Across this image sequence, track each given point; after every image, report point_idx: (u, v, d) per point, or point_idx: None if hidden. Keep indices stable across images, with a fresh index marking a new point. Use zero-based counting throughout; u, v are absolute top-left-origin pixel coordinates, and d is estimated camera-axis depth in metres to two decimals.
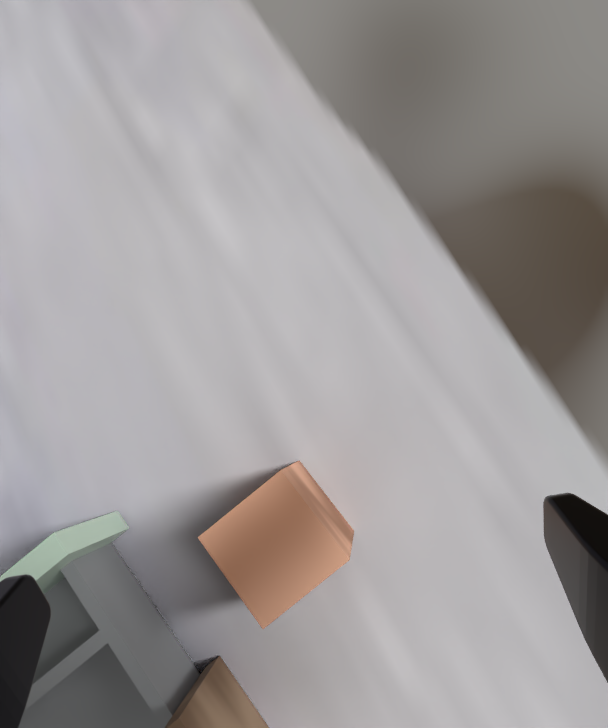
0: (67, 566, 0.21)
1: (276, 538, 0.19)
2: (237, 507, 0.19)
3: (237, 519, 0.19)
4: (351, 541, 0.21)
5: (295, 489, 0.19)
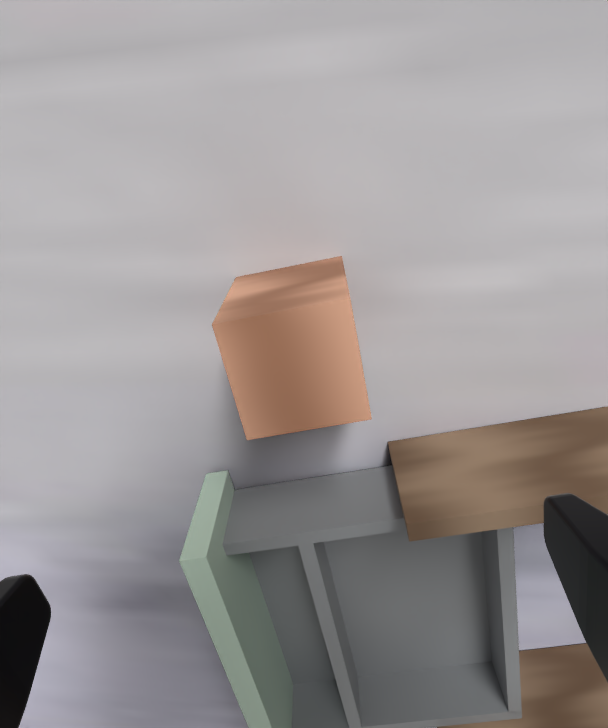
0: (226, 549, 0.20)
1: (286, 364, 0.15)
2: (233, 388, 0.16)
3: (246, 393, 0.16)
4: (343, 272, 0.17)
5: (242, 318, 0.15)
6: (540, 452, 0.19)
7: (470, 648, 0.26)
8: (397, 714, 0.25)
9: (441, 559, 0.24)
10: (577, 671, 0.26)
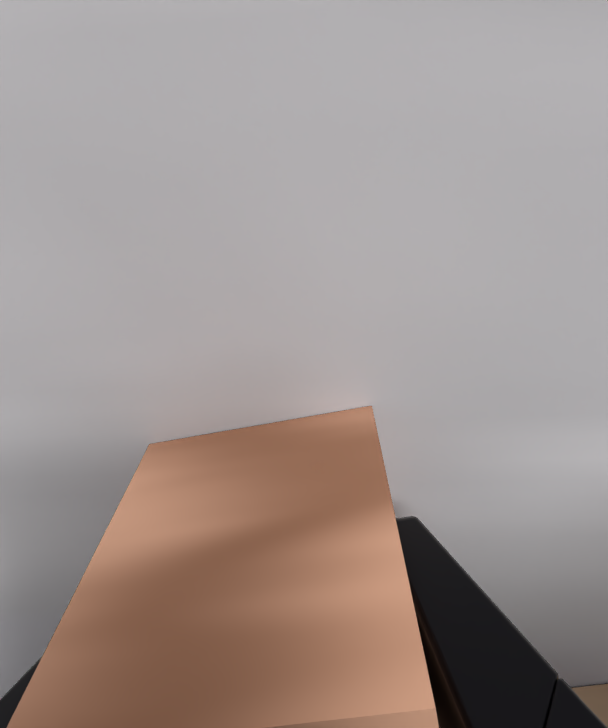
0: None
1: None
2: None
3: None
4: (386, 492, 0.07)
5: None
6: None
7: None
8: None
9: None
10: None
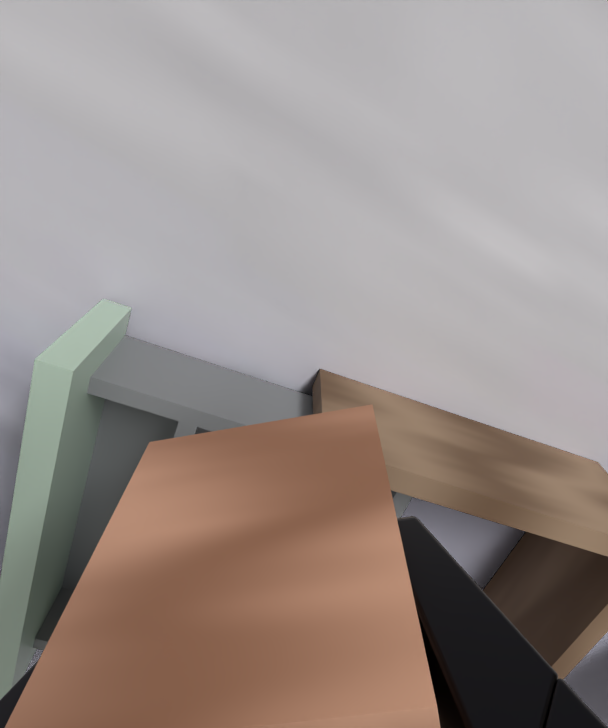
0: (91, 385, 0.16)
1: None
2: None
3: None
4: (387, 491, 0.07)
5: None
6: (468, 446, 0.18)
7: None
8: None
9: None
10: None
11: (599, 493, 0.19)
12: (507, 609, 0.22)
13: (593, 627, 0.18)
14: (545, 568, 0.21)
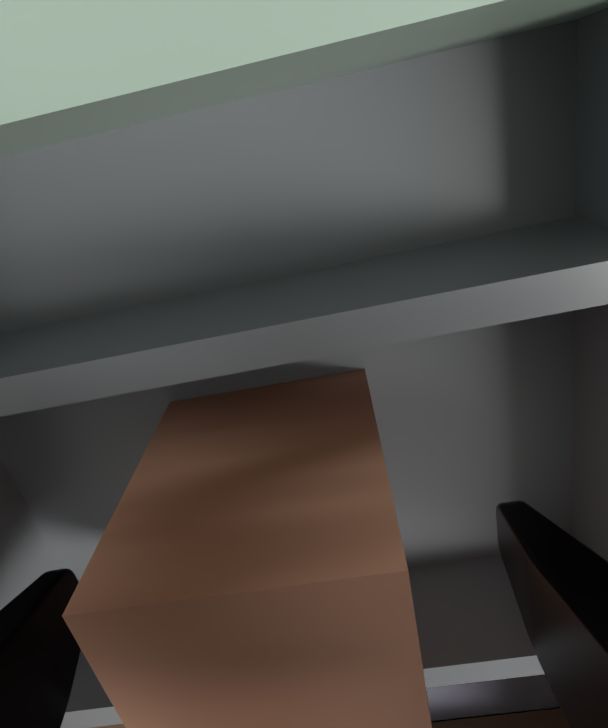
0: None
1: (249, 688, 0.06)
2: (128, 726, 0.07)
3: None
4: (375, 432, 0.08)
5: (136, 604, 0.06)
6: None
7: None
8: None
9: None
10: None
11: None
12: None
13: None
14: None
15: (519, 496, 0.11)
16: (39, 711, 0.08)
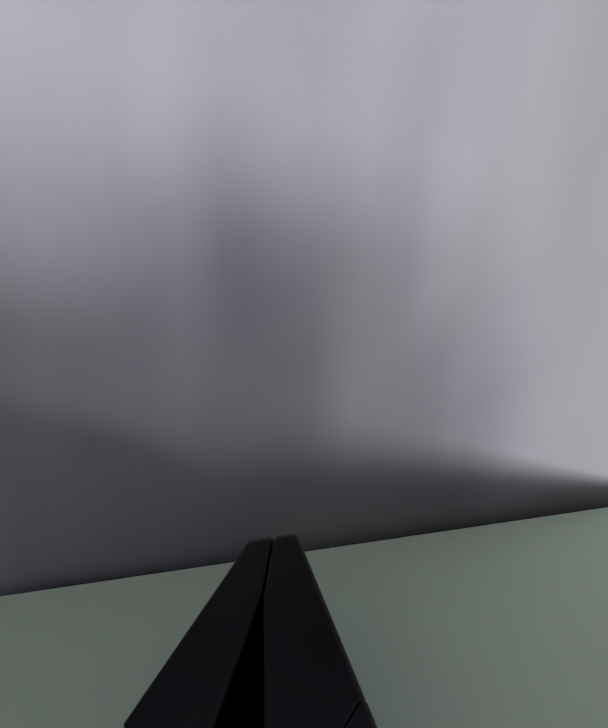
0: None
1: None
2: None
3: None
4: None
5: None
6: None
7: None
8: None
9: None
10: None
11: None
12: None
13: None
14: None
15: None
16: None
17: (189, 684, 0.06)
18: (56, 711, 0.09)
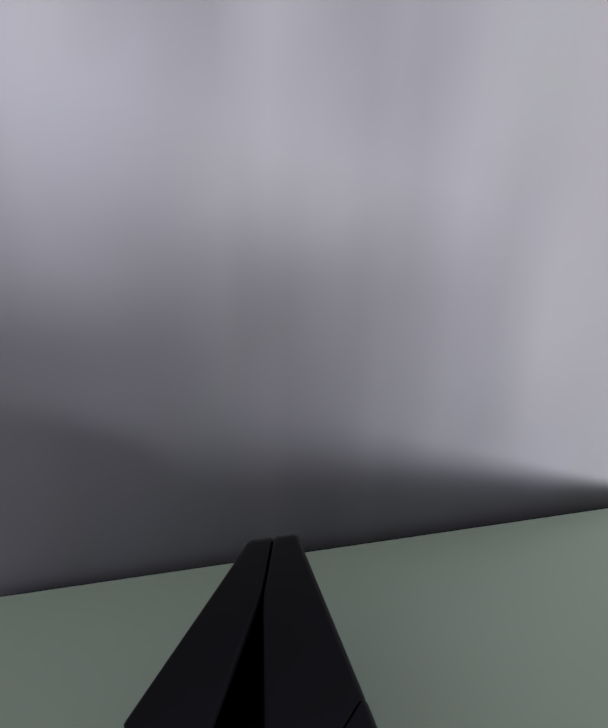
0: None
1: None
2: None
3: None
4: None
5: None
6: None
7: None
8: None
9: None
10: None
11: None
12: None
13: None
14: None
15: None
16: None
17: (189, 684, 0.06)
18: (60, 707, 0.09)
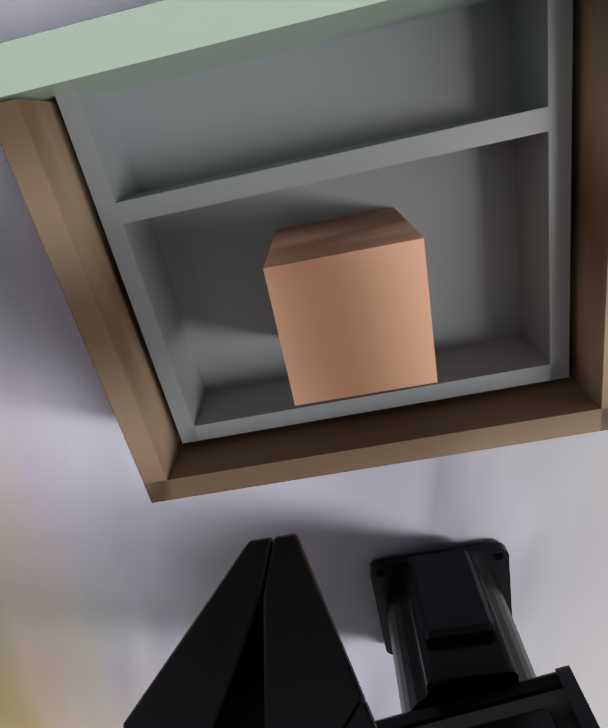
0: None
1: (345, 317, 0.13)
2: (283, 345, 0.14)
3: (298, 351, 0.14)
4: (403, 219, 0.15)
5: (298, 262, 0.13)
6: None
7: (229, 363, 0.20)
8: (147, 279, 0.16)
9: None
10: None
11: None
12: None
13: (499, 431, 0.16)
14: None
15: (487, 298, 0.18)
16: None
17: (189, 684, 0.06)
18: None
